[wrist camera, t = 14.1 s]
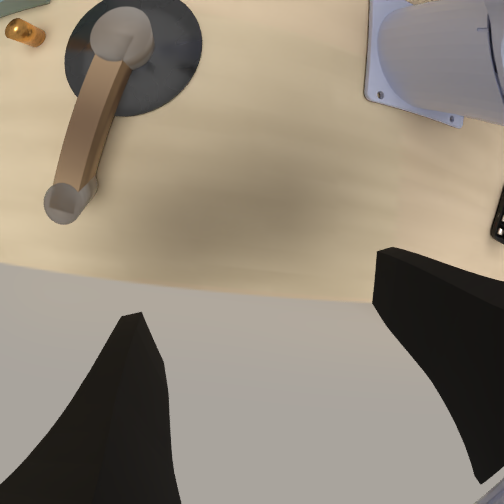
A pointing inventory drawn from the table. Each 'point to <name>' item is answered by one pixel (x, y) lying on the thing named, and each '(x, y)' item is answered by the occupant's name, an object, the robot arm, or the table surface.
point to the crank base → (147, 76)
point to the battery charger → (499, 223)
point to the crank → (97, 108)
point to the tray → (18, 5)
